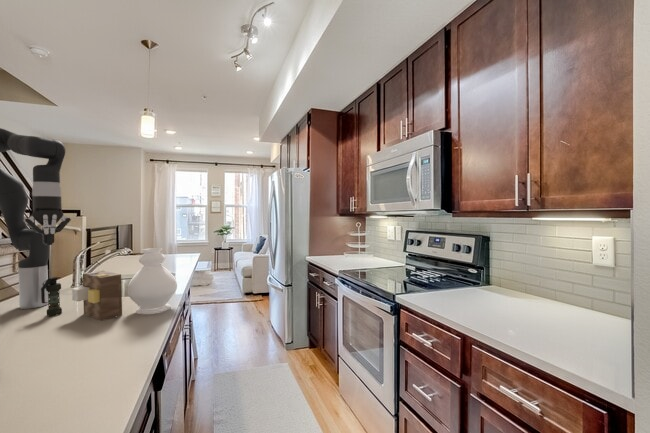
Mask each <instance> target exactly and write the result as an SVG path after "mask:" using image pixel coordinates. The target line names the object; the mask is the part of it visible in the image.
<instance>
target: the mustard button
mask: <svg viewBox="0 0 650 433" xmlns="http://www.w3.org/2000/svg"><path fill="white" fill-rule="evenodd" d="M88 302H91V303H98V302H100V290H99V289H90V290H88Z"/></svg>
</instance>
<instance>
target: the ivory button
mask: <svg viewBox="0 0 650 433" xmlns="http://www.w3.org/2000/svg"><path fill="white" fill-rule="evenodd" d="M88 290H90V288H89V287H85V286H84V287H83V286H80V287H73V288H71V294H72V295H71V296H72V299H71V300H72V301H74V302H77V303H78V302H83V300H88Z"/></svg>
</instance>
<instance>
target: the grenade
mask: <svg viewBox="0 0 650 433" xmlns="http://www.w3.org/2000/svg"><path fill="white" fill-rule="evenodd" d="M58 279H59V280H60V279H62V278H61V277H58V276H55V277H54V276H53V277H50V278H49V277H48V279H47V280H46V281H44V282H45V284H44V283H43V287H42V288H41V301H42V303H48V304H47V305H48V309H46V316H48V317H54V316H55V317H56V316H59V315H61V314H63V309H62V307H61V304H60V303H61V302H60V301H61V300H60V299H61V298H60V290H62V284H61V283H60V282H59V283H57V282H58ZM45 289H46V291H48V302H45Z"/></svg>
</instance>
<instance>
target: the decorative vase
mask: <svg viewBox="0 0 650 433" xmlns="http://www.w3.org/2000/svg"><path fill="white" fill-rule="evenodd" d="M161 251H163V248H162V247H148V248H142V249H141V252H142V253H143V254H142V255H141V256H139V258H138V262H139V264H141V265H143V266H142V267H141V268H140V269H139V270H138V271H137V272H136V273H135V274H134V276H132V278H131V280H130V281H129V283H128V285H127V295H128V297H129V298H130V299H131V301H132V302H134V304H136V305H137V306H138V308H137V309H135V314H138V315H153V314H159V313H163V312H166V311H168V310H170V309H171V304H169V303H168V302H169V301H170V299H171V298H172V297H173V296H174V295H175V293H176V291H177V288H178V283H177V280H176V278H175V276H174V275H173V274H172V272H171V271H170V270H169V269H167V268H166V267H164V266H163V265H162V264H163V263H164V261H165V260H166V256H165V254H164V253H162V252H161Z"/></svg>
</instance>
